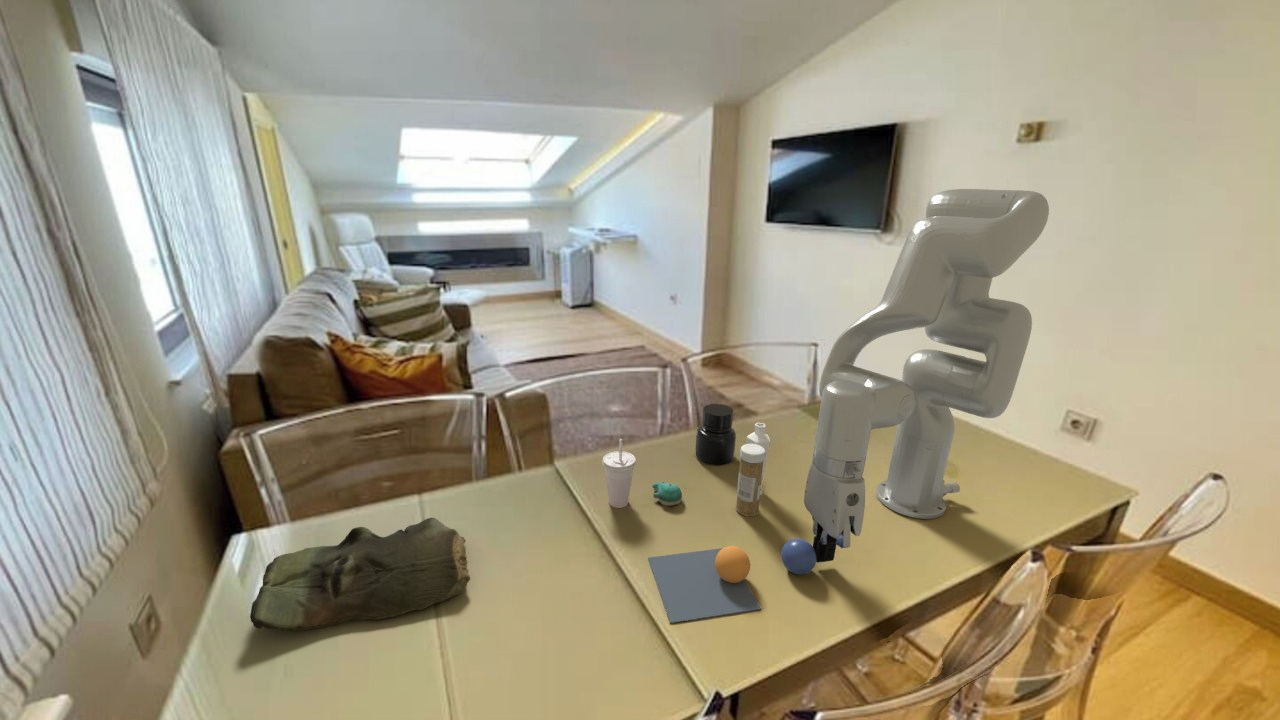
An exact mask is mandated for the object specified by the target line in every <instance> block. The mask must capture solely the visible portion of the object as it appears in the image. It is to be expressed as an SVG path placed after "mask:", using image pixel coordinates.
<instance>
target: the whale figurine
mask: <svg viewBox="0 0 1280 720" xmlns="http://www.w3.org/2000/svg"><path fill="white" fill-rule="evenodd" d="M651 487H652V489H654V490H655V491H657V492H654V493H653V497H654V499H657V500H658V501H659V503H660V504H662V505H664V506H665V507H666V506H667V507H671V506H672V507H673V506H676V505H678V504H680V503H681V502H682V497H683V495H682V490H681V488H680V486H678V485H677V484H675V483H667V482H665V481H659V482H655V483H652V486H651Z"/></svg>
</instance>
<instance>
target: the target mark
mask: <svg viewBox="0 0 1280 720" xmlns="http://www.w3.org/2000/svg"><path fill="white" fill-rule="evenodd" d="M723 548H724V547H721V548H713V549H706V550H698V551H697V550H696V551H689V552H682V553H681V552H680V553H675V554H673V553H672V554H666V555H665V554H664V555H658V556H649V557H647V559H648V562H649V566H650V569H651V571H652V574H653V577H654V580H655V582H656V586H657V588H658V591H659V595H660V599H661V601H662V604H663V606H664V609H666V610H665V613H666V612H667V613H666V615H668V616H667V619H668V618H669V619H668V622H669V621H670V622H669V624H670V623H672V624H676V623H675V622H678V623H682V622H681V621H685V622H688V621H687V620H691V621H696V620H695V619H698V620H704V619H708V618H709V617H711V618H716V617H723V615H724V616H729V615H735V614H741V613H742V614H743V613H749V612H754V611H756V612H757V611H761V610H762V607H761V606H760V604H759V603H758V601H757V599H756V597H755V595H754V593H753V592H752V589H751V588H750V587H749V584H748V583H747V581H746V578H745V579H744V580H743V581H741V582H738V583H729V582H727V581H725V580H723V579H722V578H721V577H720V576H719V575H718V573H717V571H716V567H715V559H716V556H717V554H718V553H719V551H720V550H721V549H723ZM703 618H704V619H703ZM709 619H710V618H709Z"/></svg>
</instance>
